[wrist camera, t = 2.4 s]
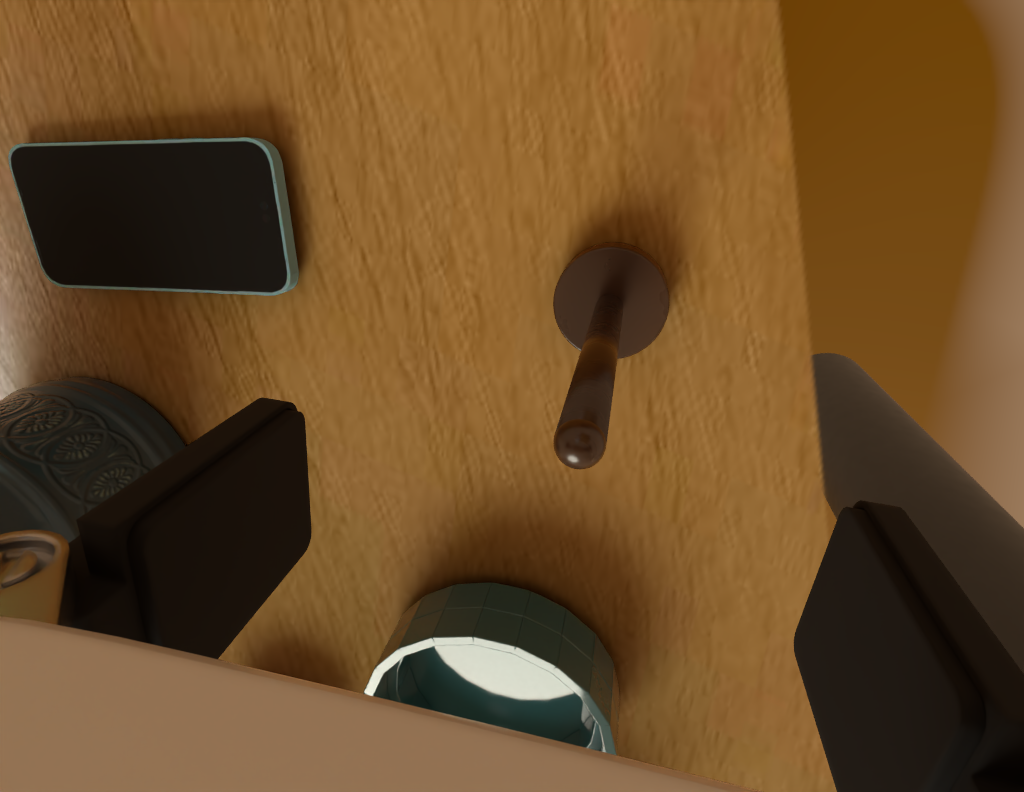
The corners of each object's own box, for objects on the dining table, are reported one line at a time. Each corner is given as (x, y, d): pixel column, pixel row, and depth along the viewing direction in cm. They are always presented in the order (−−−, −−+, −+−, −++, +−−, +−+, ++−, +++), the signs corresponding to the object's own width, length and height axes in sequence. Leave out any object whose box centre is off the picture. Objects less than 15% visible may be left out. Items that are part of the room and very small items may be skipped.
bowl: (637, 602, 33) (636, 673, 29) (599, 770, 39) (594, 852, 34) (397, 551, 35) (361, 610, 31) (395, 718, 41) (364, 788, 36)
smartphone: (1, 143, 29) (268, 135, 26) (22, 143, 30) (282, 136, 27) (46, 287, 32) (293, 297, 29) (65, 283, 33) (305, 292, 30)
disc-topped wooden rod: (677, 249, 26) (720, 366, 12) (656, 357, 28) (669, 569, 14) (564, 235, 27) (474, 329, 12) (551, 341, 29) (461, 526, 14)
